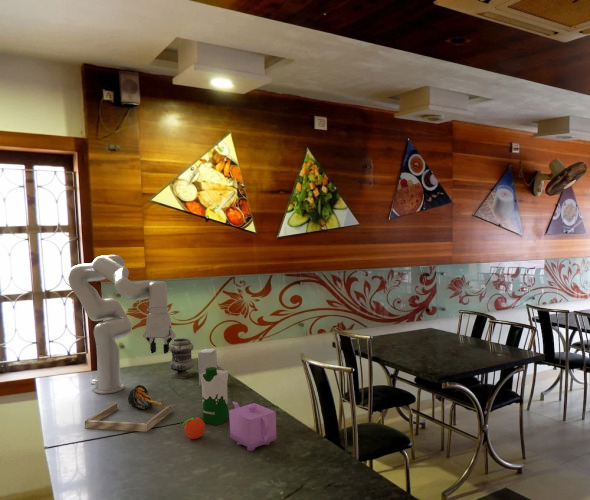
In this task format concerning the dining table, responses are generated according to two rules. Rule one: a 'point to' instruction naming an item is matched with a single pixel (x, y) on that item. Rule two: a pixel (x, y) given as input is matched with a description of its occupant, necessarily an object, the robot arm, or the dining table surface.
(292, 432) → the dining table surface
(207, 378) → the milk carton
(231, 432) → the teapot
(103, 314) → the robot arm
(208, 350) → the skincare box
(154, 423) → the serving frame
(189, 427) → the clementine
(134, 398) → the fried shrimp in bowl
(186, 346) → the apothecary jar
